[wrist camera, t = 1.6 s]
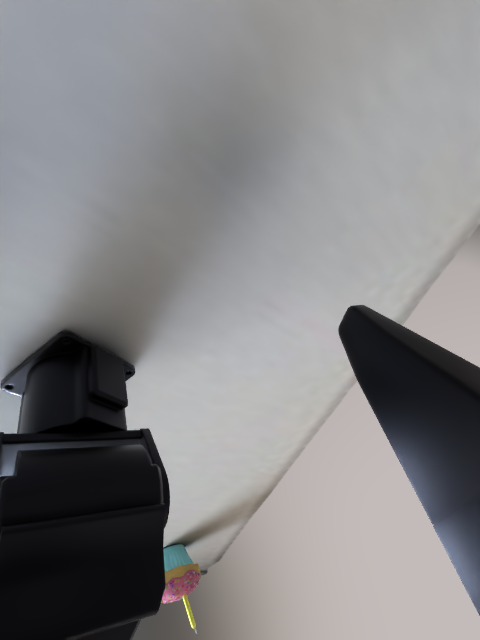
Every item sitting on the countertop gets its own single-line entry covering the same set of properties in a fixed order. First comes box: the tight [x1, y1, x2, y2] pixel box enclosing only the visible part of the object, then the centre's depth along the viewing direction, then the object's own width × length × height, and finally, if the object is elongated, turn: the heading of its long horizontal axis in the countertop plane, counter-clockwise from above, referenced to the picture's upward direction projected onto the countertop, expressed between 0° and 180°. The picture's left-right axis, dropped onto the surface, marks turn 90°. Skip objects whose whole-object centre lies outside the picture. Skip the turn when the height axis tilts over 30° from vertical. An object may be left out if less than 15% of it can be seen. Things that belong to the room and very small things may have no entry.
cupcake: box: [161, 544, 201, 633], centre depth 56 cm, size 9×8×12 cm
